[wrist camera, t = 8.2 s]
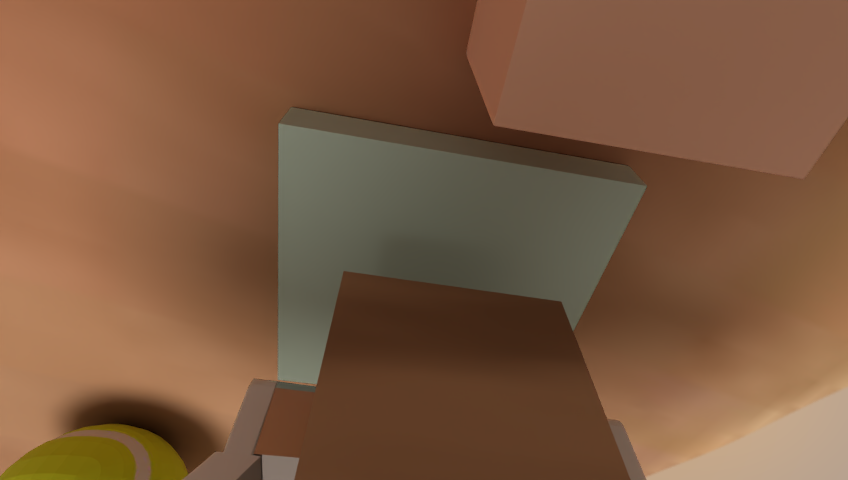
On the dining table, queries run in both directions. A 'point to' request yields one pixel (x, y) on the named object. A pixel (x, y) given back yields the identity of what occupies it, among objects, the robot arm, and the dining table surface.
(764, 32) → the terracotta cube
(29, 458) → the tennis ball
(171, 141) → the dining table surface
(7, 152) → the dining table surface
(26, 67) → the dining table surface
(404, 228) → the board
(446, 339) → the walnut cube
